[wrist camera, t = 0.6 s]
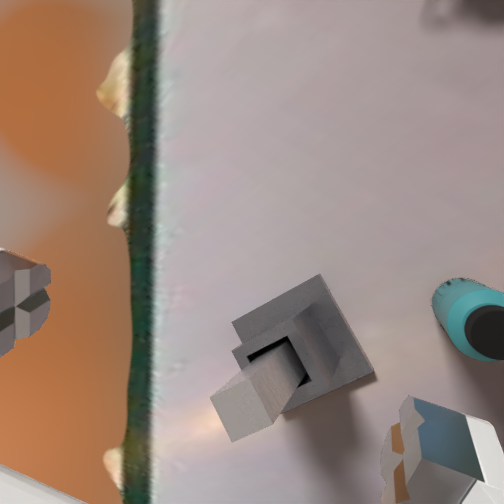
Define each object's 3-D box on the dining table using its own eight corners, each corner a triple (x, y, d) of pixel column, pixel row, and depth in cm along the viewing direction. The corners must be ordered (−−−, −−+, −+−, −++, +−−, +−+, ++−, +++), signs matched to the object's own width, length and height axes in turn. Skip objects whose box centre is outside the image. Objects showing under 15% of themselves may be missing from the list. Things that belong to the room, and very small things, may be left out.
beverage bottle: (451, 339, 50) (490, 397, 31) (417, 294, 51) (433, 324, 32) (501, 309, 48) (572, 351, 30) (464, 264, 50) (510, 276, 31)
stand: (373, 368, 53) (368, 409, 40) (282, 410, 57) (250, 459, 44) (319, 273, 55) (298, 282, 42) (235, 320, 59) (191, 341, 46)
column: (318, 354, 53) (272, 424, 33) (290, 367, 55) (229, 443, 34) (303, 326, 54) (249, 378, 33) (276, 340, 55) (207, 398, 34)
